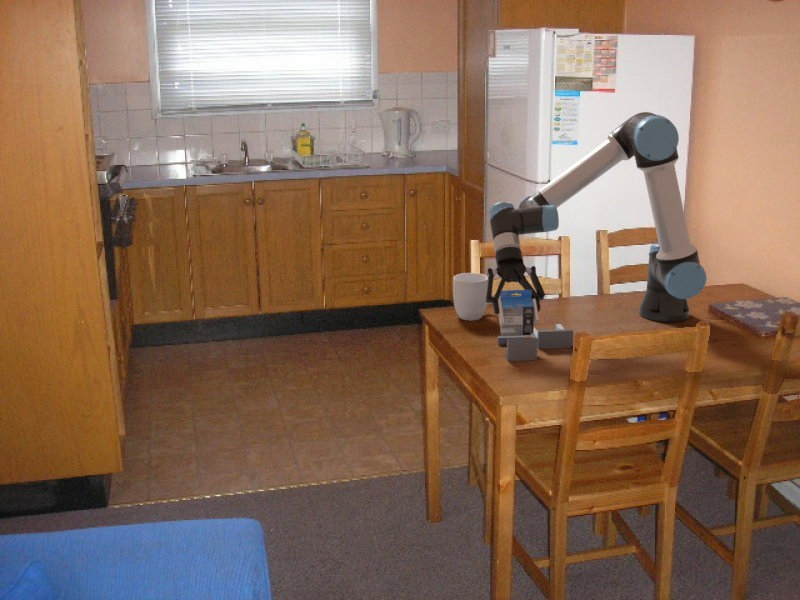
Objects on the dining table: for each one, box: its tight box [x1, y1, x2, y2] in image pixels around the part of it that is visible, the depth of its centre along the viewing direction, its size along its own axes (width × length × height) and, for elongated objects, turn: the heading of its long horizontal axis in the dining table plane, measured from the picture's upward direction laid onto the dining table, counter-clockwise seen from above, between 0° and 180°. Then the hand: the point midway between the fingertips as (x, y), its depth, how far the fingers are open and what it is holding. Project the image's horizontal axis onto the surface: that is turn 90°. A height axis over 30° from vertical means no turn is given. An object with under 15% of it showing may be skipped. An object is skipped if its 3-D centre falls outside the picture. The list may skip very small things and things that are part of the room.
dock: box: [528, 323, 574, 350], centre depth 261 cm, size 10×14×5 cm
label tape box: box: [499, 289, 535, 336], centre depth 250 cm, size 9×4×12 cm, turn 92°
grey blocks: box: [496, 335, 538, 362], centre depth 252 cm, size 8×15×6 cm, turn 5°
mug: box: [452, 272, 489, 322], centre depth 282 cm, size 15×11×13 cm
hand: (519, 322), depth 247 cm, fingers closed on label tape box, 9 cm apart
